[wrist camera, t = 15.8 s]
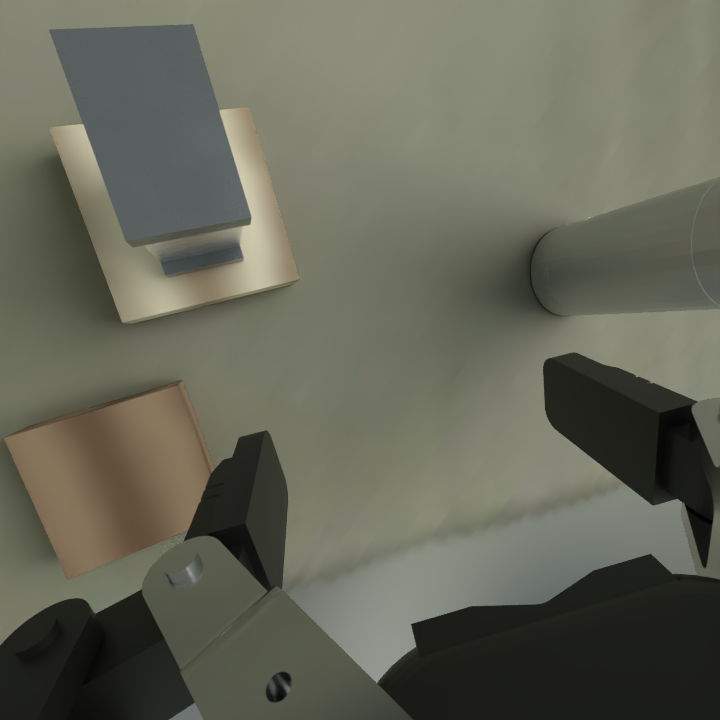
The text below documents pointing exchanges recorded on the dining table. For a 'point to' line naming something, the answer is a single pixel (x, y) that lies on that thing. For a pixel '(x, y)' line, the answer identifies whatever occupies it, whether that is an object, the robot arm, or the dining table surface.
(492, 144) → the dining table surface
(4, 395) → the dining table surface
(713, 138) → the dining table surface
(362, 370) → the dining table surface
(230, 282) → the cream slab
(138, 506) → the walnut stand
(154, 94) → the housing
